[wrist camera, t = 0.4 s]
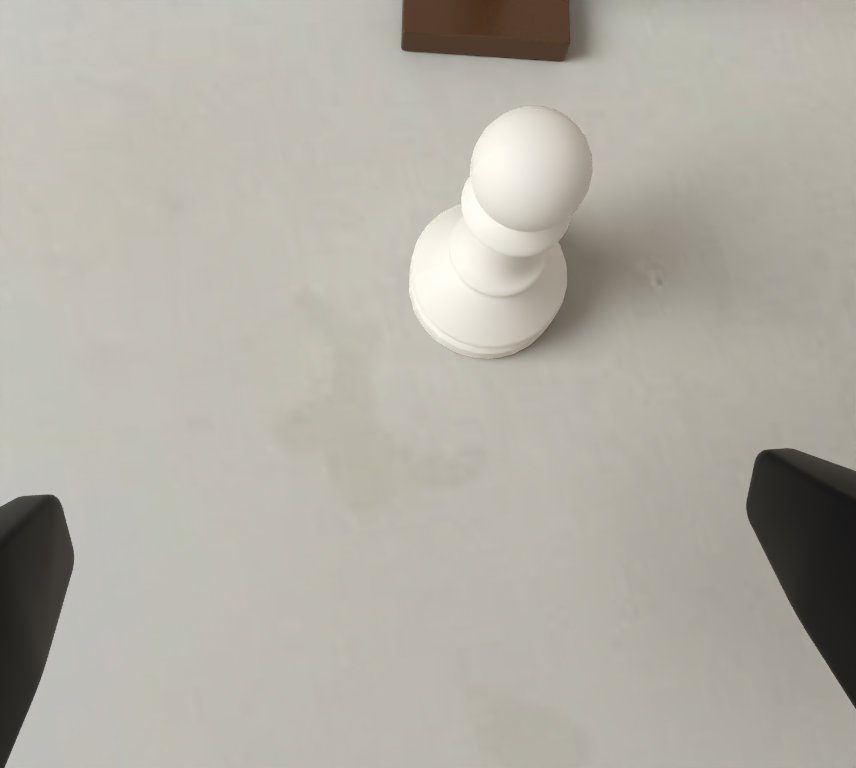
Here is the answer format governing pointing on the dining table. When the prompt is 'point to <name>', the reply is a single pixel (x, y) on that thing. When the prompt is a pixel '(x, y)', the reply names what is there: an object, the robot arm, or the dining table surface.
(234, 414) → the dining table surface
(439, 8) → the post stand
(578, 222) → the dining table surface
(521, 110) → the chess pawn
